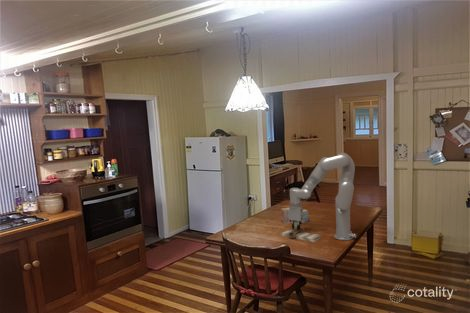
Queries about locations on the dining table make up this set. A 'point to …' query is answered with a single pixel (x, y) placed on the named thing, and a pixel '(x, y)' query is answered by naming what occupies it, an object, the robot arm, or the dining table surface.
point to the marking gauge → (295, 231)
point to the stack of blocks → (286, 214)
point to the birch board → (303, 236)
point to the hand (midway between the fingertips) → (296, 229)
